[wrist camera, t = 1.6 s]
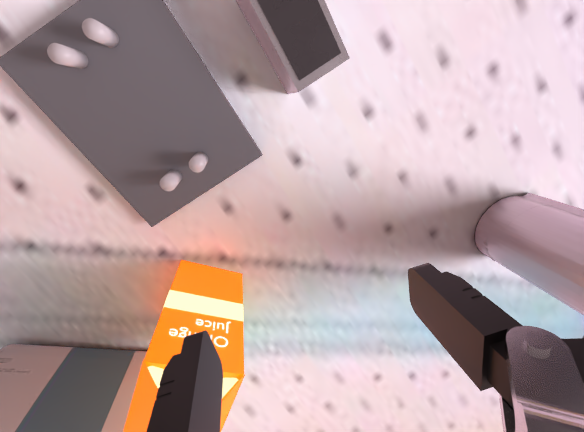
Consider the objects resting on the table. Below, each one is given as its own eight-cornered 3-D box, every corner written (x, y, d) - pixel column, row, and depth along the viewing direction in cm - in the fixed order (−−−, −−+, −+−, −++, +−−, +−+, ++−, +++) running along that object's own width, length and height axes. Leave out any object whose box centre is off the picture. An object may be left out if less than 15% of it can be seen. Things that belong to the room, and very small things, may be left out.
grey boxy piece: (282, -32, 25) (294, -70, 20) (328, 66, 29) (350, 57, 23) (235, 1, 26) (234, -28, 20) (287, 94, 29) (298, 91, 24)
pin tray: (141, -32, 24) (121, -60, 20) (261, 152, 31) (264, 160, 27) (9, 63, 24) (-38, 54, 20) (155, 221, 32) (143, 239, 27)
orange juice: (163, 317, 36) (85, 536, 18) (180, 258, 34) (109, 443, 15) (223, 328, 38) (209, 532, 20) (244, 273, 36) (248, 450, 18)
